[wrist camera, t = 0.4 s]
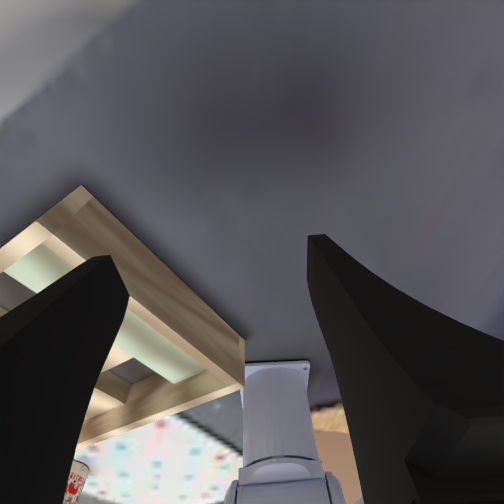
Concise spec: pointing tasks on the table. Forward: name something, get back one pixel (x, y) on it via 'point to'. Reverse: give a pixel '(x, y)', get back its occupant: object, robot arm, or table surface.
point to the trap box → (128, 319)
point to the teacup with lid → (75, 482)
